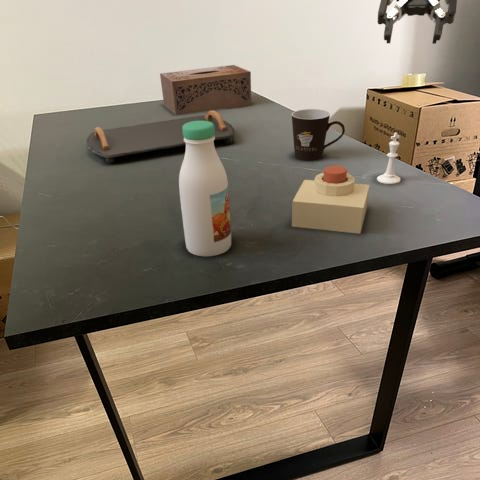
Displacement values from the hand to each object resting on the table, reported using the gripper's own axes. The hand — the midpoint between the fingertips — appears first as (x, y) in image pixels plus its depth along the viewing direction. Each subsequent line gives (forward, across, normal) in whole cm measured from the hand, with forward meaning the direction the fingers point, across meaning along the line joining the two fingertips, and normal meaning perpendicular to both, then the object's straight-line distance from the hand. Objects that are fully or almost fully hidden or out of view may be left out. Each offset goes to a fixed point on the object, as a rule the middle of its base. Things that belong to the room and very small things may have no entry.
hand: (411, 40), depth 91 cm
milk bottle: (+49, -27, -14) cm, 58 cm away
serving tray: (+14, -59, +21) cm, 64 cm away
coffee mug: (+17, -18, +18) cm, 31 cm away
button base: (+38, -9, -4) cm, 40 cm away
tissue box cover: (-15, -62, +50) cm, 81 cm away
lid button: (+32, -9, -7) cm, 34 cm away
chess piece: (+24, 0, +11) cm, 26 cm away
